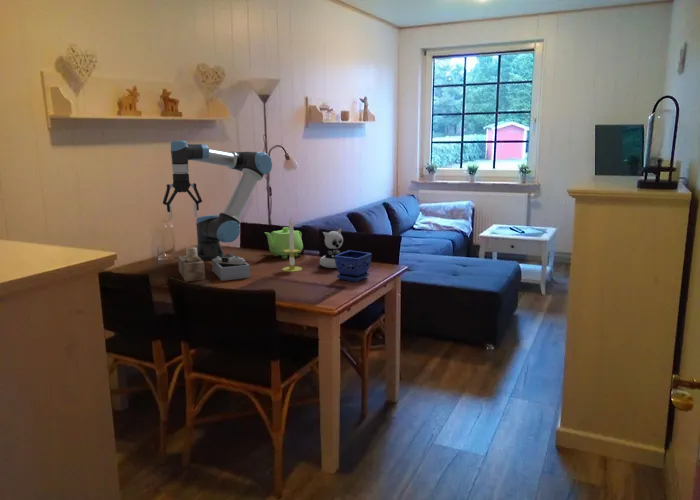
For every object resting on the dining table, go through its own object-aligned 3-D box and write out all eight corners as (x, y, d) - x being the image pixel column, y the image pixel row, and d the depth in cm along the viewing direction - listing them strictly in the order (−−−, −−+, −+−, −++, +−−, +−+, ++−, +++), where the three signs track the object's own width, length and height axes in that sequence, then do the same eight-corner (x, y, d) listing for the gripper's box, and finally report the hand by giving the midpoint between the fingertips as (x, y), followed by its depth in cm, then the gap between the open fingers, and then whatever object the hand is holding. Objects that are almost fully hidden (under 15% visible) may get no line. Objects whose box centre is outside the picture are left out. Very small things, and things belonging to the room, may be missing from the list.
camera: (251, 272, 272) (250, 252, 269) (243, 276, 263) (242, 256, 261) (222, 270, 276) (221, 250, 274) (213, 274, 268) (212, 254, 266)
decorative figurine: (324, 270, 276) (323, 230, 272) (316, 263, 290) (315, 226, 286) (352, 267, 281) (352, 229, 277) (343, 261, 295) (343, 224, 290)
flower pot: (358, 284, 252) (358, 258, 249) (333, 279, 259) (333, 254, 256) (372, 277, 263) (372, 252, 260) (348, 273, 270) (348, 249, 267)
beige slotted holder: (197, 269, 278) (196, 253, 276) (205, 279, 260) (204, 261, 258) (178, 271, 274) (177, 255, 272) (185, 281, 256) (184, 263, 255)
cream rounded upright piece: (196, 262, 265) (195, 246, 264) (198, 264, 261) (197, 248, 259) (186, 263, 263) (185, 247, 262) (187, 265, 259) (186, 249, 257)
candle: (305, 268, 280) (304, 215, 275) (295, 272, 272) (294, 218, 266) (288, 266, 285) (287, 214, 279) (278, 270, 276) (276, 216, 270)
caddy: (239, 267, 281) (238, 256, 280) (250, 277, 263) (249, 265, 262) (212, 270, 275) (211, 259, 274) (221, 280, 257) (220, 268, 256)
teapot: (287, 249, 325) (286, 222, 322) (310, 255, 310) (310, 227, 306) (251, 255, 309) (250, 227, 305) (273, 262, 293) (272, 232, 290)
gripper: (203, 171, 277) (206, 215, 281) (154, 173, 267) (157, 218, 271) (206, 172, 270) (209, 217, 275) (156, 174, 260) (159, 220, 265)
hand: (183, 217), depth 273 cm, fingers open, 11 cm apart
